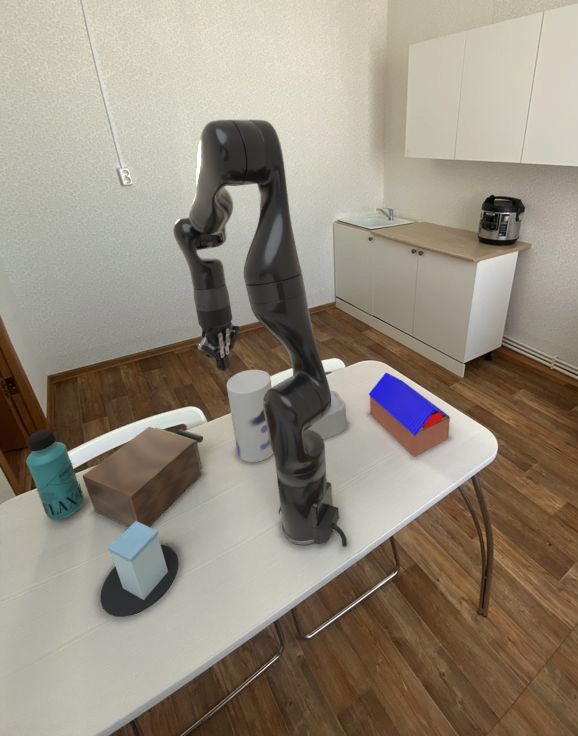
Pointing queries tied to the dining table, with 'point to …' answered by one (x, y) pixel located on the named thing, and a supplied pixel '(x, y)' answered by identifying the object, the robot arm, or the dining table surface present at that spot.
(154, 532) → the canister
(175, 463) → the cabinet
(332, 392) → the lumpy-topped squat cylinder
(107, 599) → the mat
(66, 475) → the beverage bottle
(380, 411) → the house
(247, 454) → the container
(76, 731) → the dining table surface
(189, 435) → the drawer
